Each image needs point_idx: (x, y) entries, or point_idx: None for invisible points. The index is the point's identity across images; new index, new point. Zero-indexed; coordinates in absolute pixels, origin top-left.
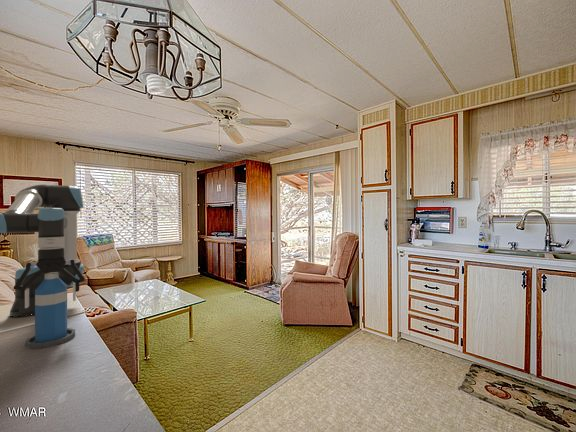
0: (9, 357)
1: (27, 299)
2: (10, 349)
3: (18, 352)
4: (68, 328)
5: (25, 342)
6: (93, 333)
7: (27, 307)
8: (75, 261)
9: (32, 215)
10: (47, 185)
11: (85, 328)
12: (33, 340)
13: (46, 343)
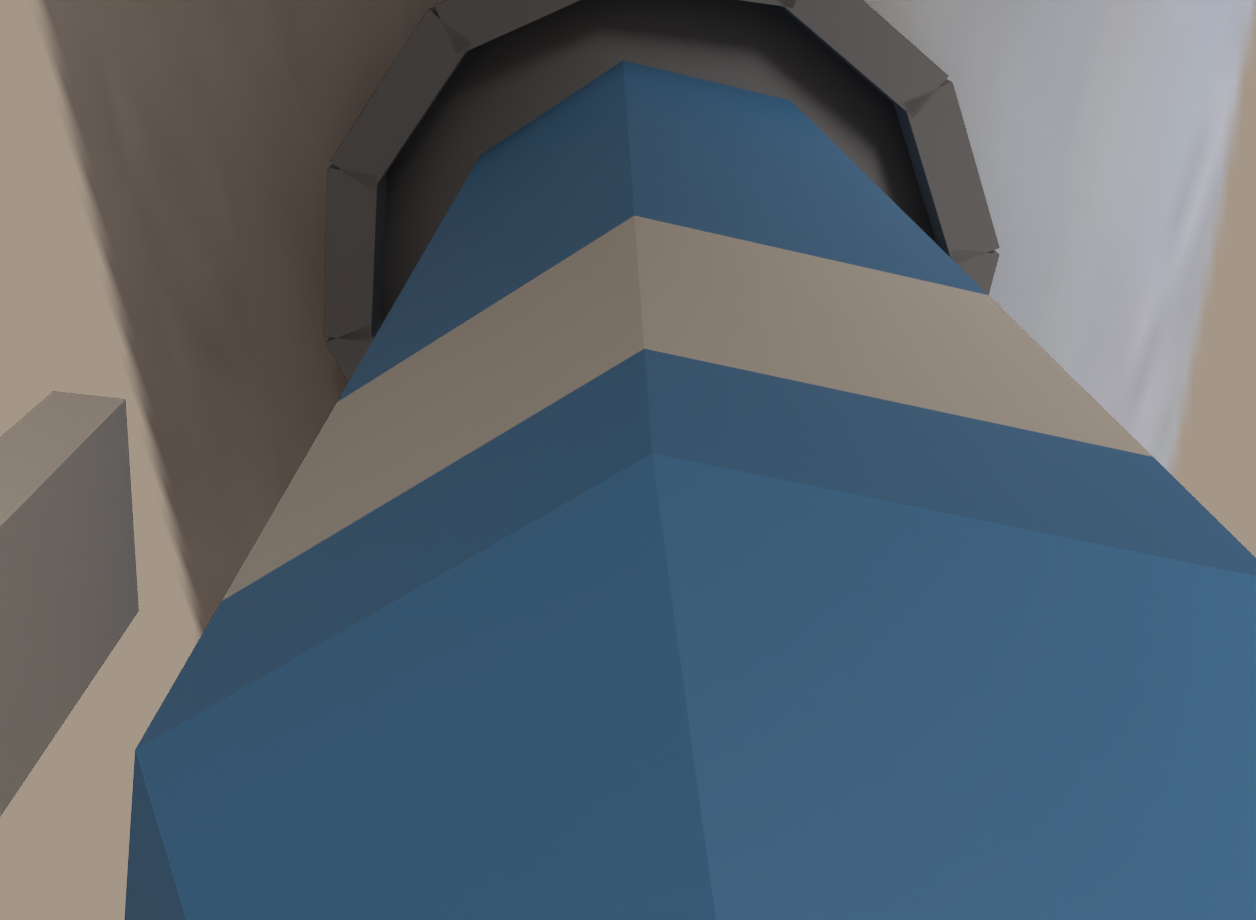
0: (227, 560)
1: (10, 795)
2: (167, 245)
3: (294, 460)
4: (929, 73)
5: (329, 329)
6: (1168, 441)
7: (129, 617)
8: None
9: None
10: None
11: (1174, 58)
12: (420, 128)
13: None
